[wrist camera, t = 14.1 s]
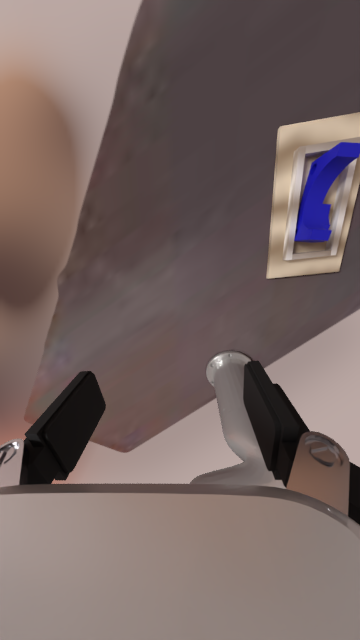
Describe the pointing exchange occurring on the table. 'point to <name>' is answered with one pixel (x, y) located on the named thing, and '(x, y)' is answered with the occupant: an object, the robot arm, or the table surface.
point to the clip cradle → (289, 183)
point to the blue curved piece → (322, 192)
